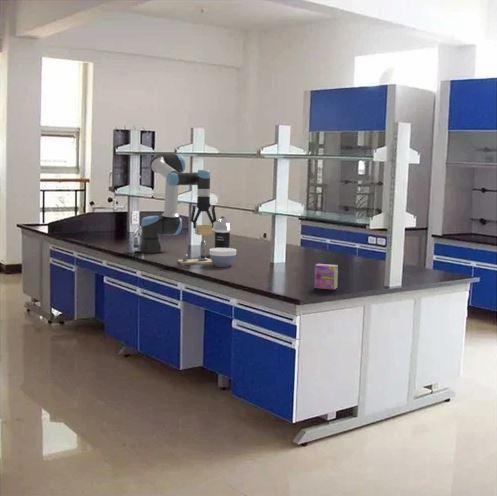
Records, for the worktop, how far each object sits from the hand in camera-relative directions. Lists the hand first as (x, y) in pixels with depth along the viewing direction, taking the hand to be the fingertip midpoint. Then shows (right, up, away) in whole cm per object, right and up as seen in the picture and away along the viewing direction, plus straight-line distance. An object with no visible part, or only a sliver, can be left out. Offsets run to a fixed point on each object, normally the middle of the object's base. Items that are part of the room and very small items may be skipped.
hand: (203, 233), depth 427 cm
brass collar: (0, 0, 0) cm, 0 cm away
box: (+66, -29, -70) cm, 101 cm away
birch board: (-4, -17, +1) cm, 18 cm away
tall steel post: (0, -16, +2) cm, 16 cm away
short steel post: (-11, -17, -1) cm, 20 cm away
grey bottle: (+10, -13, +35) cm, 39 cm away
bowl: (+12, -19, -8) cm, 24 cm away
